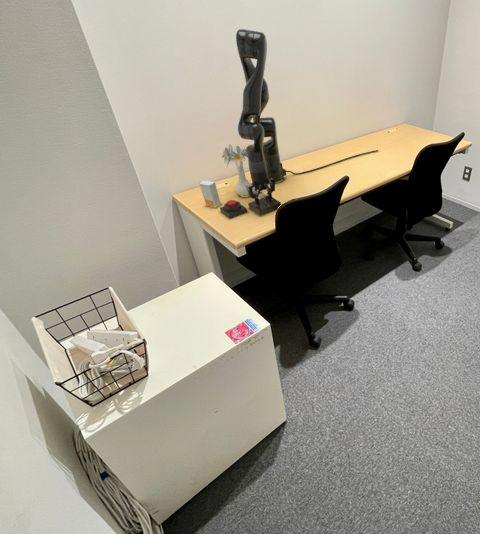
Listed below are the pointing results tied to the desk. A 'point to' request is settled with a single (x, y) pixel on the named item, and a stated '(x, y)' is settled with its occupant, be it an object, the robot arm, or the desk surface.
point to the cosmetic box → (210, 193)
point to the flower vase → (238, 167)
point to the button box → (233, 210)
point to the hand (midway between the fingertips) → (264, 202)
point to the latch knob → (263, 198)
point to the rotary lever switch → (264, 207)
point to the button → (231, 203)
